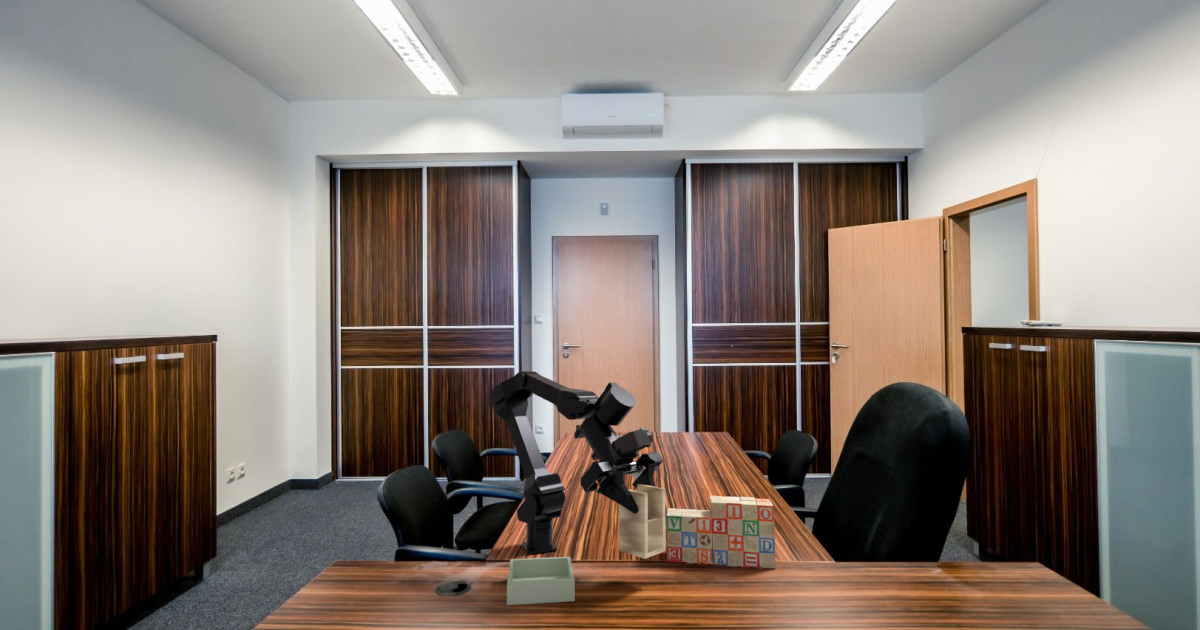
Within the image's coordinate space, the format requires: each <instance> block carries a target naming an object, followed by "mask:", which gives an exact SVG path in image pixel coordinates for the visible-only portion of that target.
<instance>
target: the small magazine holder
mask: <svg viewBox="0 0 1200 630" xmlns="http://www.w3.org/2000/svg"><path fill="white" fill-rule="evenodd" d="M628 490H629V492H630V494H631V495H632V497H633V499H634V501H635V502H636V505H637V507H638V509H639V511H638V512H637V513H636V514H634V513H632V512H631V511H629V510H628V509H626V508H625V507H623V506H621V505H620V504H618V505H619V506H618V508H619V509H618V511H619V512H618V514H619V515H618V517H619V518H618V519H619V520H618V521H619V523H618V526H619V527H618V528H619V535H618V536H619V541H618V542H619V546H618V547H619V549H618V551H619V552H621V553H624V554H629V555H632V556H635V557H638V558H640V559H645V560H646V559H649V558H651V557H653V556H656V555H658V554H661V553H664V552H667V530H666V488H665V487H659V486H656V487H654V486H649V485H644V484H637V489H636V490H634V489H629V488H628Z"/></svg>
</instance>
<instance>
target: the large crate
mask: <svg viewBox="0 0 1200 630" xmlns="http://www.w3.org/2000/svg"><path fill="white" fill-rule="evenodd" d="M509 560H510V561H509V567H508V575H507V582H506V606H514V605H533V604H549V603H551V604H553V603H554V604H555V603H567V602H568V603H569V602H575V600H576V599H575V598H576V597H575V596H576V595H575V592H576V591H575V589H576V588H575V587H576V584H575V583H576V582H575V581H576V579H575V574H574V568H573V563H572V559H571V556H558V557H556V556H554V557H534V558H533V557H532V558H514V559H511V558H510V559H509Z"/></svg>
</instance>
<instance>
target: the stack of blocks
mask: <svg viewBox="0 0 1200 630" xmlns="http://www.w3.org/2000/svg"><path fill="white" fill-rule="evenodd" d="M774 515H775V514H774V505H773V503H772V501H771V499H769V498H756V497H754V496H753V497H752V496H724V495H723V496H719V495H710V496H709V509H707V510H706V509H693V508H692V509H691V508H689V509H688V508H687V509H686V508H672V507H671V508H670V507H669V508H667V511H666V514H665V526H666V561H667V563H670V562H671V563H682V562H687V563H686V564H693V563H714V564H715V563H717V564H721V565H720V566H722V565H726V567H737V566H741V568H742V567H743V568H749V567H762V568H761V569H763V568H777V567H776V540H775V539H776V525H775V519H774Z"/></svg>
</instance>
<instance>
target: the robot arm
mask: <svg viewBox="0 0 1200 630" xmlns="http://www.w3.org/2000/svg"><path fill="white" fill-rule="evenodd" d="M533 395H535V396H537V397H539V398H541V399H543V400H545V401H547V402H549V403H551V404H553V405H554V406H555V407H556V410H557V412H558V413H560V414H561V415H562V416H563V417H565V419H567V420H569V421H574V420H575V421H577V420H583V421H582V422H581V423H580V424H576V426H575V432H574V436H573V437H574V438H573V439H576V440H577V439H585V441H586V442H587V444H588V446H590V448H591V450H592V451H593V453H592V454H591V456H590V457H591V458H592V460H593V462H592V463H591V464H590V465H589V466H588V467H587V468H586V470H585V471H584V473H583V474H582V475H581V476H580V487H581V488H582V490H583V491H584V493H585V494H588V493H593V492H596V493H597V495H603V496H605V497H606V498H608V499H610V500H611V501H613V502H615V503H616V504H618V505H619V504H620V505H621V506H623V507H625V508H626V509H628V510H629V511H631V512H632V513H634V514H636V513H637V512H638V511H639V509H638V507H637V505H636V502H635V501H634V499H633V497H632V495H631V494H630V492H629V490H628V489H629V488H628V487H627V485H626V483H625V477H624V476H628V475H631V477H632V478H633V480H634V481H633V482H632V483H631V485H632V486H633V487H634V488H635V489H636V490H637V484H644V485H649V486H654V487H657V486H656V482H655V478H654V476H655V475H654V474H655V472H656V471H657V470H658V469H659V467H660V466H661V465H662V464H663V462H664V459H663V457H662V456H661V455H660V453H659V452H656V451H651V452H645V453H642V454H641V455H640V454H639V451H641V450H644V449H646V448H650V447H651V446H652V444H651V443H653V441H654V439H653V434H652V433H651V431H649V429H648V428H647V427H645V426H643V427H640V428H639V429H636V430H633V431H629V432H627V433H625V434H624V435H623V434H621V435H620V434H619V435H618V434H617V433H616V431H615V430H614V428H613V427H612V426H615V427H616V426H617V427H618V426H619V425H621V424H622V423H623V421H624V420H625V418H626V417H627V416H628V414H629V413H630V412H631V411H632V410H633V408H634V407H635V406H636V404H637V401H636V397H635V396H634V395H633V393H632V392H630V391H628V390H627V389H626V388H624V387H622V386H619V385H618V383H617V382H608V384H607V385H606V386H605V388H604V390H603V392H602V393H601V394H600V395H599V397H598V395H597V394H596V393H595V392H593V391H590V390H586V389H580V388H570V387H567V386H566V385H563V384H561V383H559V382H557V381H556V382H555V381H554V380H552V379H549V378H548V377H546V376H543V375H541V374H539V372H537V371H532V370H528V371H526V370H523V371H522V370H521V371H519V372H517V373H516V374H515V375H513V376H512V377H510V378H508V379H505V380H504V381H501V382H499V383H498V384H496V385H495V386H494V387H493V388H492V390H491V391H490V394H489V401H490V404H491V406H492V408H493V410H494V412H495V414H496V415H497V416H498V417H500V418H501V419H502V420H503V421H504V422H505V423H506V426H507V429H508V431H509V434H510V438H511V441H512V443H513V446H514V449H515V451H516V454H517V456H518V459H519V462H520V463H519V464H520V465H521V467H522V472H523V474H524V478H525V482H524V488H523V497H524V500H523V502H522V503H521V504H520V505H519V507H518V508H517V510H516V516H517V521H519V522H522V523H525V524H526V532H525V533H526V537H525V539H526V541H525V542H521V546H522V548H523V549H524V550H525V552H526V553H527V554H536V553H546V552H553V551H554V552H555V551H558V548H557V546H556V545H555V544H554V542H553V520H554V519H556V518H560V517H562V513H563V508H564V506H565V501H566V494H565V490H566V488H565V487H564V486H563V485H564V484H563V483H562V481H561V477H560V474H558V472H556V473H555V472H554V473H551V472H550V471H549V470H548V469H547V467H546V464H545V462H544V459H543V456H542V453H541V450H540V448H539V446H538V442H537V441H536V438H535V435H534V432H533V430H532V427H531V424H530V421H529V419H528V414H527V411H528V407H529V399H530V398H531V397H533ZM639 455H640V456H639ZM638 456H639V457H638ZM637 457H638V459H637V460H636V461H634V459H636V458H637ZM597 482H598V483H597ZM598 486H599V487H598Z"/></svg>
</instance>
